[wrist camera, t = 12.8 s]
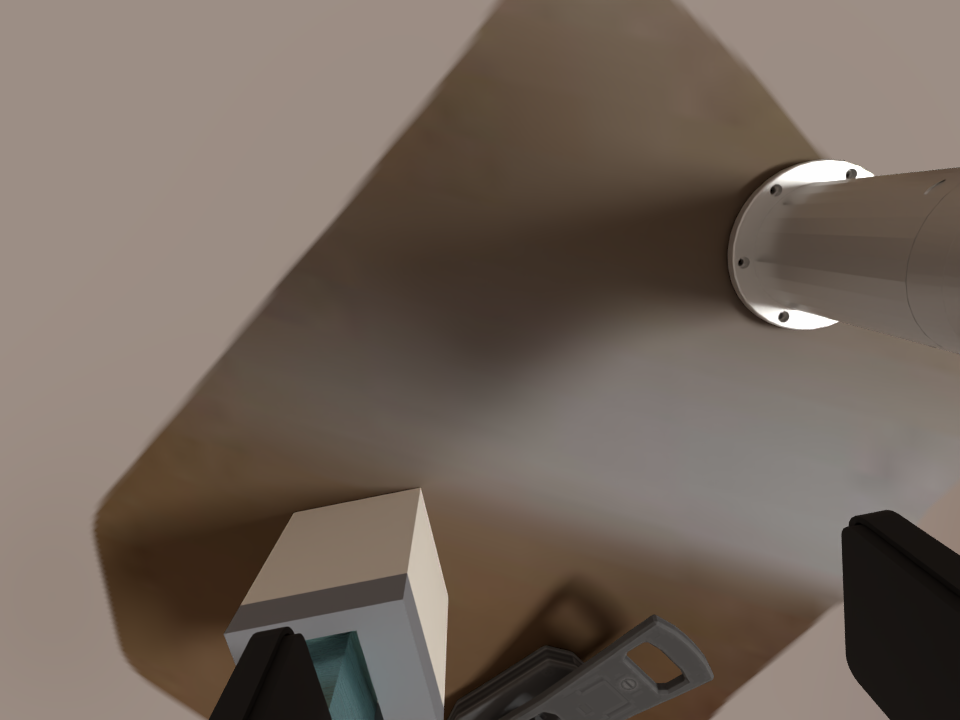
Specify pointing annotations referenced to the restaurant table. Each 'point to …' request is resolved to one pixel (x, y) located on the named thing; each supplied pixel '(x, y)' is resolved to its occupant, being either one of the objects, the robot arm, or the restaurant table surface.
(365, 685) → the teal block
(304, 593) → the white slotted box
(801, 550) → the restaurant table surface
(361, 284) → the restaurant table surface
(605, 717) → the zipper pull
